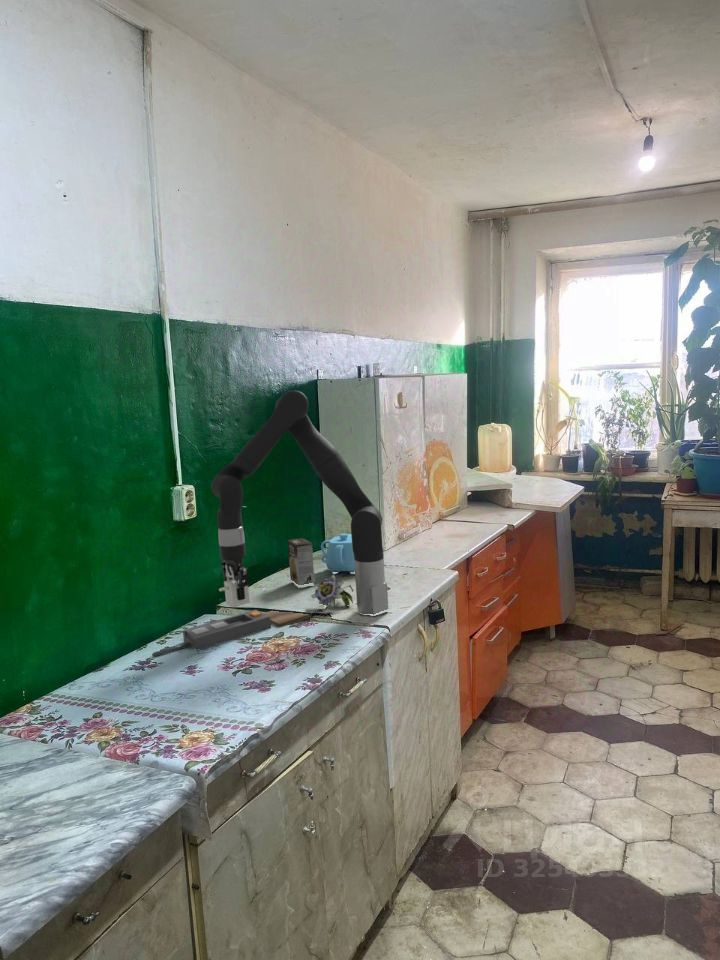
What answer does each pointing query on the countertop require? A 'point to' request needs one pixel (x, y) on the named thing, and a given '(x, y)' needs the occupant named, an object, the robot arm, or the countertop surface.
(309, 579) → the coffee box
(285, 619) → the walnut pad
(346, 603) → the passion flower
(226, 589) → the block
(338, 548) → the teapot
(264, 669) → the countertop surface
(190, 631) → the power strip
